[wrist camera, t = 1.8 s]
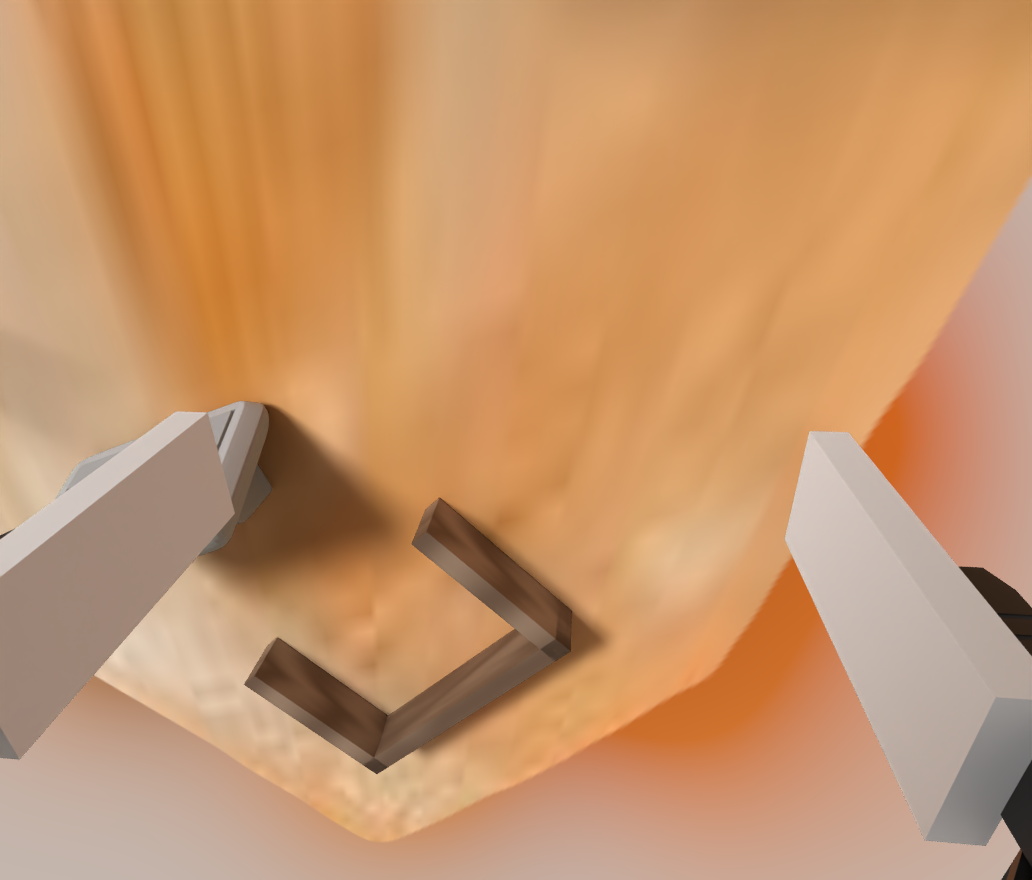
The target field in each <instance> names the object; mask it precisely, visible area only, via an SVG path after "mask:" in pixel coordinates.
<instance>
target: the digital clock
mask: <svg viewBox="0 0 1032 880" xmlns="http://www.w3.org/2000/svg"><path fill="white" fill-rule="evenodd" d="M208 416H209V419H210V423H211V427H212V431H213V434H214V438H215V442H216V445H217V449H218V453H219V456H220V460H221V464H222V467H223V471H224V475H225V479H226V482H227V486H228V490H229V493H230V497H231V501H232V504H233V508H234V512H235V514H234V515H233V516H232V517H231V519H230V520H229V521H228V522H227V523H226V524H225V525H224V527H223V528H222V529H221V530H220V531H219V532H218V533H217V535H216V536H215V537H214V538H213V539H212V540H211V541H210V543H209V544H208V545H207V546H206V547H205V548H204V549H203V551H202V552H201V553H200V554H199V555H198V556H200V555H203V554H206V553H209V552H212V551H215V550H218V549H220V548H222V547H223V546H225V545H226V544H227V543H228V542H229V540H230V539H231V537H232V535H233V532H234V530H235V527H236V524H240V523H243V522H245V521H246V520H247V519H248V518H249V517H250V516H251V515H252V514H253V513H254V511H255V510H256V509H257V508H258V507H259V505H260V504H261V503H262V502H263V501H264V499H265V498H266V497H267V496H268V495H269V493H270V492H271V491H272V487H271V484H270V483H269V481H268V480H267V478H266V477H265V475H264V474H263V472H262V470H261V469H260V467H259V466H258V464H257V463H258V460H259V457H260V454H261V451H262V448H263V445H264V442H265V439H266V436H267V433H268V429H269V414H268V411H267V409H266V408H265V407H264V405H263V404H262V403H256V402H247V401H239V402H235V403H232V404H230V405H227V406H224V407H221V408H218V409H216V410H213V411H210V412H208ZM138 439H139V438H138ZM136 440H137V439H136ZM136 440H133V441H130V442H128V443H125V444H122V445H120V446H117V447H114V448H112V449H109V450H106V451H104V452H101V453H99V454H96V455H94V456H91V457H89V458H86V459H84V460H83V461H81V462H80V463H79V464H78V465H77V466H76V467H75V468H74V469H73V471H72V472H71V474H70V476H69V477H68V479H67V480H66V482H65V484H64V485H63V487H62V489H61V490H60V492H59V494H58V495H57V497H56V499H57V498H58V497H59V496H61V495H62V494H63V493H65V492H66V491H67V490H69V489H70V488H72V487H73V486H74V485H76V484H77V483H78V482H80V481H81V480H83V479H84V478H85V477H87V476H88V475H89V474H91V473H92V472H94V471H95V470H96V469H98V468H99V467H100V466H102V465H103V464H105V463H106V462H107V461H109V460H110V459H111V458H113V457H114V456H115V455H117V454H118V453H120V452H121V451H122V450H124V449H125V448H126V447H128V446H129V445H131V444H132V443H133V442H135V441H136Z"/></svg>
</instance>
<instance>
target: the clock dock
mask: <svg viewBox="0 0 1032 880" xmlns="http://www.w3.org/2000/svg"><path fill="white" fill-rule="evenodd" d="M412 545H413V546H414V547H416V548H417V549H418V550H419V551H421V552H422V553H423V554H424V555H425V556H427V557H428V558H429V559H430V560H432V561H433V562H434V563H435V564H436V565H438V566H439V567H440V568H441V569H443V570H444V571H445V572H446V573H447V574H449V575H450V576H451V577H452V578H454V579H455V580H456V581H457V582H459V583H460V584H461V585H462V586H463V587H465V588H466V589H467V590H468V591H470V592H471V593H472V594H473V595H474V596H476V597H477V598H478V599H479V600H481V601H482V602H483V603H484V604H485V605H487V606H488V607H489V608H490V609H492V610H493V611H494V612H495V613H496V614H498V615H499V616H500V617H501V618H503V619H504V620H505V621H506V622H507V623H509V624H510V625H511V626H512V627H514V628H515V629H514V630H513V631H511V632H510V633H508V634H507V635H505V636H504V637H502V638H501V639H500V640H498V641H497V642H495V643H494V644H492V645H491V646H489V647H488V648H486V649H485V650H483V651H482V652H481V653H479V654H478V655H476V656H475V657H473V658H472V659H470V660H469V661H467V662H466V663H465V664H463V665H462V666H460V667H459V668H457V669H456V670H454V671H453V672H451V673H450V674H449V675H447V676H446V677H444V678H443V679H441V680H440V681H438V682H437V683H435V684H434V685H432V686H431V687H430V688H428V689H427V690H425V691H424V692H422V693H421V694H419V695H418V696H416V697H415V698H414V699H412V700H411V701H409V702H408V703H406V704H405V705H403V706H402V707H400V708H399V709H397V710H396V711H395V712H393V713H392V714H390V715H389V716H387V715H386V714H384V713H383V712H381V711H380V710H378V709H377V708H376V707H374V706H373V705H371V704H370V703H369V702H367V701H366V700H364V699H363V698H362V697H360V696H359V695H357V694H356V693H355V692H353V691H352V690H350V689H349V688H348V687H346V686H345V685H343V684H342V683H341V682H339V681H338V680H336V679H335V678H333V677H332V676H331V675H329V674H328V673H326V672H325V671H324V670H322V669H321V668H319V667H318V666H317V665H315V664H314V663H312V662H311V661H310V660H308V659H307V658H305V657H304V656H303V655H301V654H300V653H298V652H297V651H296V650H294V649H293V648H291V647H290V646H288V645H287V644H286V643H284V642H283V641H281V640H280V639H279V638H276V639H275V640H274V641H272V642H271V643H270V644H269V645H268V646H267V647H266V649H265V651H264V652H263V654H262V656H261V657H260V659H259V661H258V662H257V664H256V666H255V667H254V669H253V670H252V672H251V674H250V675H249V677H248V679H247V680H246V682H245V684H244V685H245V686H247V687H248V688H250V689H251V690H253V691H254V692H256V693H257V694H259V695H260V696H262V697H263V698H265V699H266V700H268V701H269V702H270V703H272V704H273V705H275V706H276V707H278V708H279V709H281V710H282V711H284V712H285V713H287V714H288V715H290V716H291V717H293V718H294V719H296V720H297V721H299V722H300V723H302V724H303V725H305V726H306V727H308V728H309V729H310V730H312V731H313V732H315V733H316V734H318V735H319V736H321V737H322V738H324V739H325V740H327V741H328V742H330V743H331V744H333V745H334V746H336V747H337V748H339V749H340V750H342V751H343V752H345V753H346V754H348V755H349V756H351V757H352V758H353V759H355V760H356V761H358V762H359V763H361V764H362V765H364V766H365V767H367V768H368V769H370V770H371V771H373V772H374V773H376V774H378V773H380V772H381V771H383V770H384V769H386V768H388V767H389V766H391V765H392V764H394V763H395V762H397V761H399V760H400V759H402V758H403V757H405V756H406V755H408V754H410V753H411V752H413V751H414V750H416V749H418V748H419V747H421V746H422V745H424V744H425V743H427V742H429V741H430V740H432V739H433V738H435V737H436V736H438V735H440V734H441V733H443V732H444V731H446V730H447V729H449V728H451V727H452V726H454V725H455V724H457V723H459V722H460V721H462V720H463V719H465V718H466V717H468V716H470V715H471V714H473V713H474V712H476V711H477V710H479V709H481V708H482V707H484V706H485V705H487V704H488V703H490V702H492V701H493V700H495V699H496V698H498V697H499V696H501V695H503V694H504V693H506V692H507V691H509V690H511V689H512V688H514V687H515V686H517V685H518V684H520V683H522V682H523V681H525V680H526V679H528V678H529V677H531V676H533V675H534V674H536V673H537V672H539V671H540V670H542V669H544V668H545V667H547V666H548V665H550V664H552V663H553V662H555V661H556V660H558V659H559V658H561V657H563V656H564V655H566V654H567V653H569V652H570V651H571V619H572V611H571V610H570V609H569V608H567V607H566V606H565V605H564V604H563V603H562V602H560V601H559V600H558V599H557V598H556V597H555V596H553V595H552V594H551V593H550V592H549V591H548V590H546V589H545V588H544V587H543V586H542V585H541V584H539V583H538V582H537V581H536V580H535V579H534V578H532V577H531V576H530V575H529V574H528V573H527V572H525V571H524V570H523V569H522V568H521V567H520V566H518V565H517V564H516V563H515V562H514V561H513V560H511V559H510V558H509V557H508V556H507V555H506V554H504V553H503V552H502V551H501V550H500V549H499V548H497V547H496V546H495V545H494V544H493V543H492V542H490V541H489V540H488V539H487V538H486V537H485V536H483V535H482V534H481V533H480V532H479V531H478V530H476V529H475V528H474V527H473V526H472V525H471V524H469V523H468V522H467V521H466V520H465V519H464V518H462V517H461V516H460V515H459V514H458V513H457V512H455V511H454V510H453V509H452V508H451V507H450V506H448V505H447V504H446V503H445V502H444V501H443V500H441V499H440V498H438V499H437V500H436V501H435V502H434V503H433V504H432V505H430V506H429V507H428V508H427V509H426V510H425V512H424V515H423V517H422V519H421V522H420V524H419V527H418V529H417V532H416V534H415V537H414V539H413V541H412Z"/></svg>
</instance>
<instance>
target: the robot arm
mask: <svg viewBox="0 0 1032 880" xmlns="http://www.w3.org/2000/svg"><path fill="white" fill-rule="evenodd" d="M234 514H235V512H234V508H233V504H232V501H231V497H230V493H229V490H228V486H227V482H226V479H225V475H224V471H223V467H222V464H221V460H220V456H219V453H218V449H217V445H216V442H215V438H214V434H213V431H212V427H211V423H210V419H209V416H208V413H207V412H174V413H173V414H172V415H170V416H169V417H168V418H166V419H165V420H163V421H162V422H161V423H159V424H158V425H157V426H155V427H154V428H152V429H151V430H150V431H148V432H147V433H146V434H144V435H143V436H142V437H140V438H139V439H137V440H136V441H135V442H133V443H132V444H131V445H129V446H128V447H126V448H125V449H124V450H122V451H121V452H120V453H118V454H117V455H115V456H114V457H113V458H111V459H110V460H109V461H107V462H106V463H105V464H103V465H102V466H100V467H99V468H98V469H96V470H95V471H94V472H92V473H91V474H89V475H88V476H87V477H85V478H84V479H83V480H81V481H80V482H78V483H77V484H76V485H74V486H73V487H72V488H70V489H69V490H67V491H66V492H65V493H63V494H62V495H61V496H59V497H58V498H57V499H55V500H54V501H52V502H51V503H50V504H48V505H47V506H46V507H44V508H43V509H41V510H40V511H39V512H37V513H36V514H35V515H33V516H32V517H30V518H29V519H28V520H26V521H25V522H24V523H22V524H21V525H20V526H18V527H17V528H15V529H13V530H11V531H9V532H7V533H5V534H3V535H0V758H10V759H21V757H22V756H23V755H24V754H25V753H26V752H27V751H28V749H29V748H30V747H31V746H32V745H33V744H34V742H35V741H36V740H37V739H38V738H39V737H40V736H41V734H42V733H43V732H44V731H45V730H46V728H48V727H49V725H50V724H51V723H52V722H53V721H54V720H55V718H56V717H57V716H58V715H59V714H60V713H61V712H62V711H63V709H64V708H65V707H66V706H67V705H68V704H69V703H70V701H71V700H72V699H73V698H74V697H75V696H76V695H77V693H78V692H79V691H80V690H81V689H82V688H83V687H84V685H85V684H86V683H87V682H88V681H89V680H90V678H91V677H92V676H93V675H94V674H95V673H96V672H97V671H98V669H99V668H100V667H101V666H102V665H103V664H104V663H105V661H106V660H107V659H108V658H109V657H110V656H111V655H112V653H113V652H114V651H115V650H116V649H117V648H118V647H119V645H120V644H121V643H122V642H123V641H124V640H125V639H126V637H127V636H128V635H129V634H130V633H131V632H132V631H133V629H134V628H135V627H136V626H137V625H138V624H139V623H140V621H141V620H142V619H143V618H144V617H145V616H146V615H147V613H148V612H149V611H150V610H151V609H152V608H153V607H154V605H155V604H156V603H157V602H158V601H159V600H160V599H161V597H162V596H163V595H164V594H165V593H166V592H167V591H168V589H169V588H170V587H171V586H172V585H173V584H174V583H175V581H176V580H177V579H178V578H179V577H180V576H181V575H182V573H183V572H184V571H185V570H186V569H187V568H188V567H189V565H190V564H191V563H192V562H193V561H194V560H195V559H196V557H197V556H198V555H199V554H200V553H201V552H202V551H203V549H204V548H205V547H206V546H207V545H208V544H209V543H210V541H211V540H212V539H213V538H214V537H215V536H216V535H217V533H218V532H219V531H220V530H221V529H222V528H223V527H224V525H225V524H226V523H227V522H228V521H229V520H230V519H231V517H232V516H233V515H234ZM785 541H786V543H787V545H788V548H789V550H790V552H791V554H792V556H793V558H794V560H795V562H796V565H797V567H798V569H799V571H800V573H801V576H802V578H803V580H804V582H805V584H806V586H807V588H808V591H809V592H810V595H811V597H812V599H813V601H814V603H815V606H816V608H817V610H818V612H819V614H820V616H821V619H822V621H823V623H824V625H825V627H826V629H827V631H828V634H829V636H830V638H831V640H832V642H833V644H834V647H835V649H836V651H837V653H838V655H839V657H840V659H841V661H842V664H843V666H844V668H845V670H846V672H847V674H848V677H849V679H850V681H851V683H852V685H853V687H854V690H855V692H856V694H857V696H858V698H859V700H860V702H861V704H862V707H863V709H864V711H865V713H866V715H867V718H868V720H869V722H870V724H871V726H872V728H873V730H874V732H875V734H876V737H877V739H878V741H879V743H880V745H881V748H882V750H883V752H884V754H885V756H886V758H887V760H888V763H889V765H890V767H891V769H892V771H893V773H894V776H895V778H896V780H897V782H898V784H899V786H900V789H901V791H902V793H903V795H904V797H905V799H906V801H907V803H908V806H909V808H910V810H911V812H912V814H913V816H914V819H915V821H916V823H917V825H918V827H919V829H920V832H921V834H922V836H923V838H924V840H926V841H937V842H948V843H960V844H970V845H982V846H986V845H987V843H988V841H989V839H990V838H991V836H992V834H993V833H994V831H995V829H996V827H997V826H998V824H999V822H1000V821H1001V819H1002V818H1003V820H1004V821H1005V823H1006V825H1007V826H1008V828H1009V830H1010V831H1011V833H1012V835H1013V837H1014V838H1015V840H1016V842H1017V843H1018V845H1019V847H1020V848H1021V849H1020V851H1019V852H1018V854H1017V856H1016V857H1015V859H1014V860H1013V862H1012V864H1011V865H1010V867H1009V869H1008V870H1007V872H1006V873H1005V875H1004V876H1003V878H1002V880H1032V608H1031V607H1030V605H1029V604H1028V603H1027V602H1026V601H1025V600H1024V599H1023V598H1022V597H1021V596H1020V594H1019V593H1018V592H1017V591H1016V590H1015V589H1013V588H1012V587H1010V586H1009V585H1007V584H1006V583H1004V582H1003V581H1001V580H1000V579H998V578H997V577H996V576H994V575H993V574H991V573H990V572H988V571H987V570H985V569H984V568H977V567H958V566H957V564H956V563H955V562H954V561H953V560H952V558H951V557H950V556H949V555H948V554H947V552H946V551H945V550H944V549H943V547H942V546H941V545H940V544H939V543H938V541H937V540H936V539H935V538H934V536H933V535H932V534H931V533H930V532H929V531H928V529H927V528H926V527H925V525H924V524H923V523H922V522H921V521H920V519H919V518H918V517H917V516H916V514H915V513H914V512H913V511H912V510H911V508H910V507H909V506H908V505H907V503H906V502H905V501H904V500H903V499H902V497H901V496H900V495H899V494H898V492H897V491H896V490H895V489H894V488H893V486H892V485H891V484H890V483H889V481H888V480H887V479H886V478H885V477H884V476H883V474H882V473H881V472H880V470H879V469H878V468H877V467H876V466H875V464H874V463H873V462H872V461H871V460H870V458H869V457H868V456H867V455H866V453H865V452H864V451H863V450H862V448H861V447H860V446H859V445H858V444H857V442H856V441H855V440H854V439H853V437H852V436H851V435H850V434H849V433H848V432H820V431H810V432H809V436H808V440H807V445H806V449H805V453H804V458H803V462H802V466H801V471H800V475H799V479H798V484H797V488H796V492H795V497H794V501H793V505H792V510H791V514H790V518H789V523H788V527H787V531H786V536H785Z"/></svg>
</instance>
